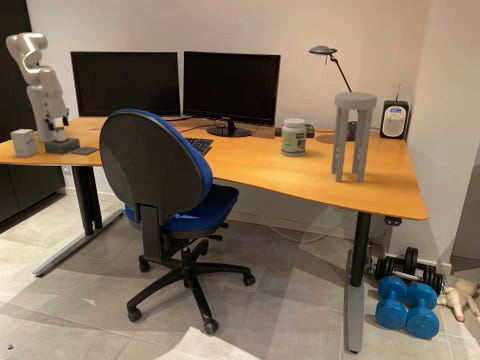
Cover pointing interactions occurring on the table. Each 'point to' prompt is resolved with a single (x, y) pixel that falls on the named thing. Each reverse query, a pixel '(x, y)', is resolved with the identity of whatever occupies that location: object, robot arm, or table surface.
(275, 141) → the table surface
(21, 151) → the supplement box
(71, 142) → the housing
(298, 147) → the supplement tub
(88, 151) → the mat
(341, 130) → the stool
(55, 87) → the robot arm
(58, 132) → the cover plug
